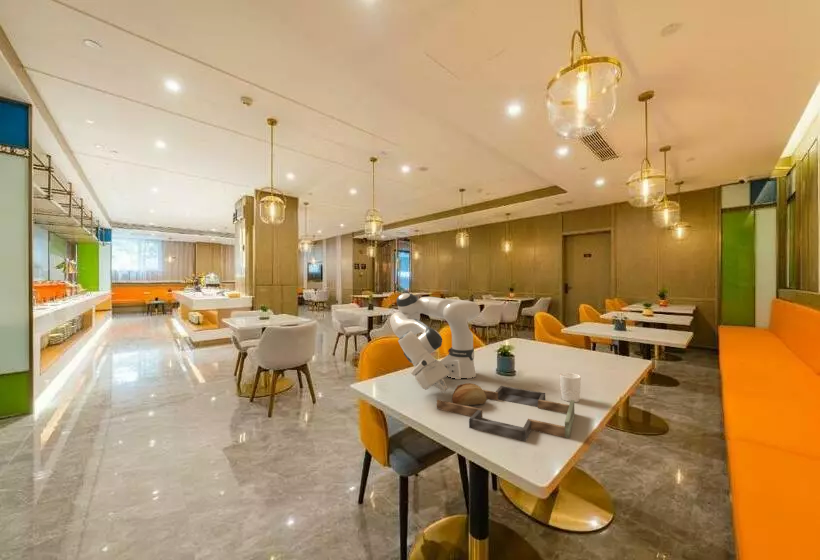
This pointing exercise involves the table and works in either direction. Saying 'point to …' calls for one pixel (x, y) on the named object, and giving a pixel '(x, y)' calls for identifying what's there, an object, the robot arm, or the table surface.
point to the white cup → (570, 386)
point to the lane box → (521, 398)
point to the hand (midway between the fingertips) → (445, 390)
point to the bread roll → (469, 395)
